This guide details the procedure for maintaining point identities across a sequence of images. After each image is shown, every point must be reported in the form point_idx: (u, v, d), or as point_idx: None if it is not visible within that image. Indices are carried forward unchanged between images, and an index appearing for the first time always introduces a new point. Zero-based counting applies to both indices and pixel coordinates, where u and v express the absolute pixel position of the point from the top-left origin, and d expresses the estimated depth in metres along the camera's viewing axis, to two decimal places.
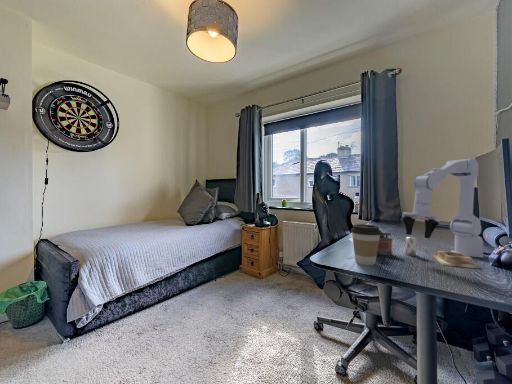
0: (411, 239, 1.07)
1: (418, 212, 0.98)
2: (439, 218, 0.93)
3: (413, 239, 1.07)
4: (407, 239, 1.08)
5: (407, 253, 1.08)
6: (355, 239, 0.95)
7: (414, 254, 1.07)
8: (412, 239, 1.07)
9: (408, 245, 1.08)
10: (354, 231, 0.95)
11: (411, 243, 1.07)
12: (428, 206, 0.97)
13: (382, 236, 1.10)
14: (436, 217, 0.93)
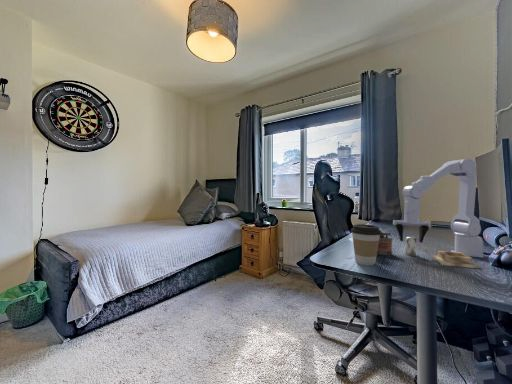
0: (411, 239, 1.07)
1: (415, 221, 1.06)
2: None
3: (413, 239, 1.07)
4: (407, 239, 1.08)
5: (407, 253, 1.08)
6: (355, 239, 0.95)
7: (414, 254, 1.07)
8: (412, 239, 1.07)
9: (408, 245, 1.08)
10: (354, 231, 0.95)
11: (411, 243, 1.07)
12: None
13: (382, 236, 1.10)
14: (429, 223, 1.05)
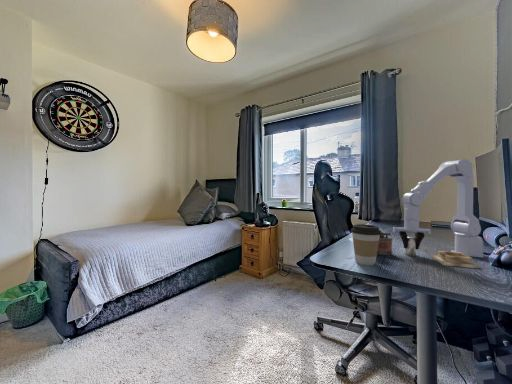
0: (411, 239, 1.07)
1: (415, 228, 1.06)
2: None
3: (413, 239, 1.07)
4: (407, 239, 1.08)
5: (407, 253, 1.08)
6: (355, 239, 0.95)
7: (414, 254, 1.07)
8: (412, 239, 1.07)
9: (408, 245, 1.08)
10: (354, 231, 0.95)
11: (411, 243, 1.07)
12: None
13: (382, 236, 1.10)
14: (429, 231, 1.05)
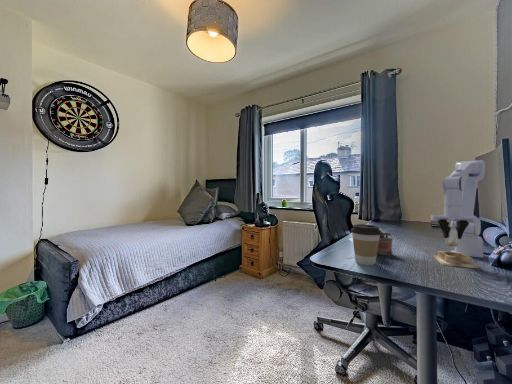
0: (453, 228, 0.97)
1: (458, 215, 0.96)
2: None
3: (456, 228, 0.97)
4: (448, 228, 0.98)
5: (448, 244, 0.98)
6: (355, 239, 0.95)
7: (456, 244, 0.97)
8: (455, 228, 0.97)
9: (450, 235, 0.98)
10: (354, 231, 0.95)
11: (454, 233, 0.97)
12: None
13: (382, 236, 1.10)
14: (474, 218, 0.95)
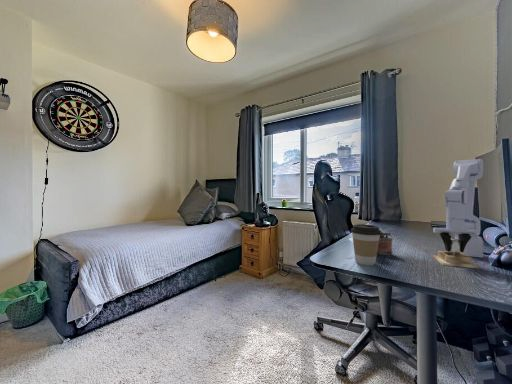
0: (456, 241, 0.97)
1: (460, 229, 0.95)
2: None
3: (458, 241, 0.97)
4: (451, 241, 0.98)
5: None
6: (355, 239, 0.95)
7: None
8: (457, 241, 0.97)
9: (452, 248, 0.97)
10: (354, 231, 0.95)
11: (456, 246, 0.97)
12: None
13: (382, 236, 1.10)
14: (476, 232, 0.95)
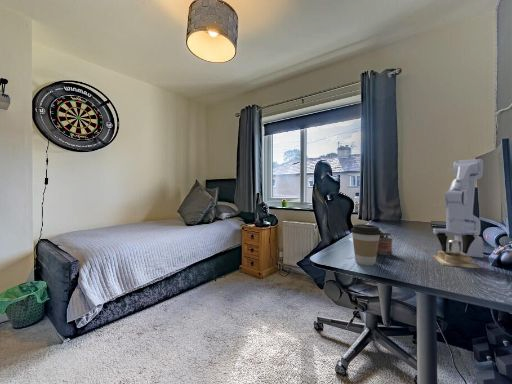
0: (456, 243, 0.97)
1: (460, 229, 0.95)
2: None
3: (458, 243, 0.97)
4: (451, 243, 0.98)
5: None
6: (355, 239, 0.95)
7: None
8: (457, 243, 0.97)
9: (452, 249, 0.97)
10: (354, 231, 0.95)
11: (456, 248, 0.97)
12: None
13: (382, 236, 1.10)
14: (476, 232, 0.95)
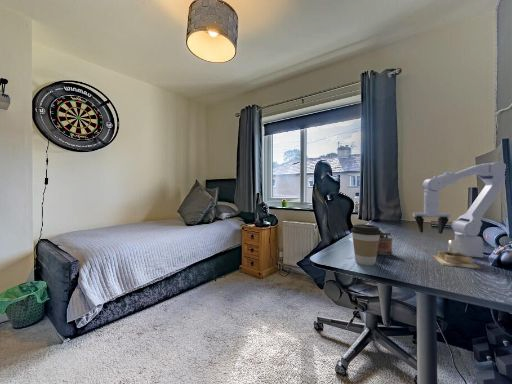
0: (456, 243, 0.97)
1: (435, 212, 1.09)
2: None
3: (458, 243, 0.97)
4: (451, 243, 0.98)
5: None
6: (355, 239, 0.95)
7: None
8: (457, 243, 0.97)
9: (452, 249, 0.98)
10: (354, 231, 0.95)
11: (456, 248, 0.97)
12: None
13: (382, 236, 1.10)
14: (449, 215, 1.09)
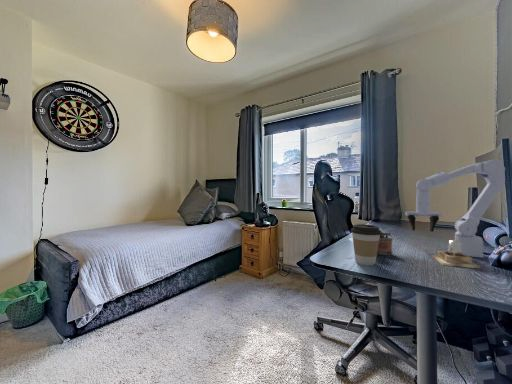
0: (456, 243, 0.97)
1: (426, 211, 1.15)
2: None
3: (459, 243, 0.96)
4: (451, 243, 0.98)
5: None
6: (355, 239, 0.95)
7: None
8: (458, 243, 0.96)
9: (452, 249, 0.97)
10: (354, 231, 0.95)
11: (456, 248, 0.97)
12: None
13: (382, 236, 1.10)
14: (440, 214, 1.15)
